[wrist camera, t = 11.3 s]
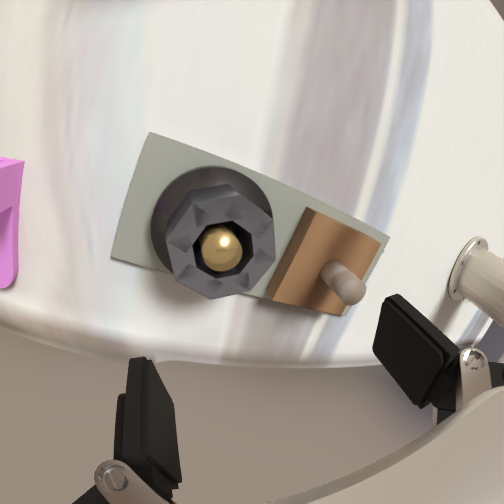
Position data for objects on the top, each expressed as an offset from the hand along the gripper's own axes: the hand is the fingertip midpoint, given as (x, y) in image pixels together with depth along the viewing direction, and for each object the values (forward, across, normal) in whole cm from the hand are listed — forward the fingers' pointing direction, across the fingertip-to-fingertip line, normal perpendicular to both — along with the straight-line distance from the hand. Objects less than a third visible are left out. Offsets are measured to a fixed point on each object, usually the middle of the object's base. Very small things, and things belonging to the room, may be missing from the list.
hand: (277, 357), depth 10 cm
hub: (+15, +1, 0) cm, 15 cm away
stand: (+16, -10, +6) cm, 19 cm away
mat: (+16, -4, +3) cm, 17 cm away
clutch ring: (+14, +1, 0) cm, 14 cm away
